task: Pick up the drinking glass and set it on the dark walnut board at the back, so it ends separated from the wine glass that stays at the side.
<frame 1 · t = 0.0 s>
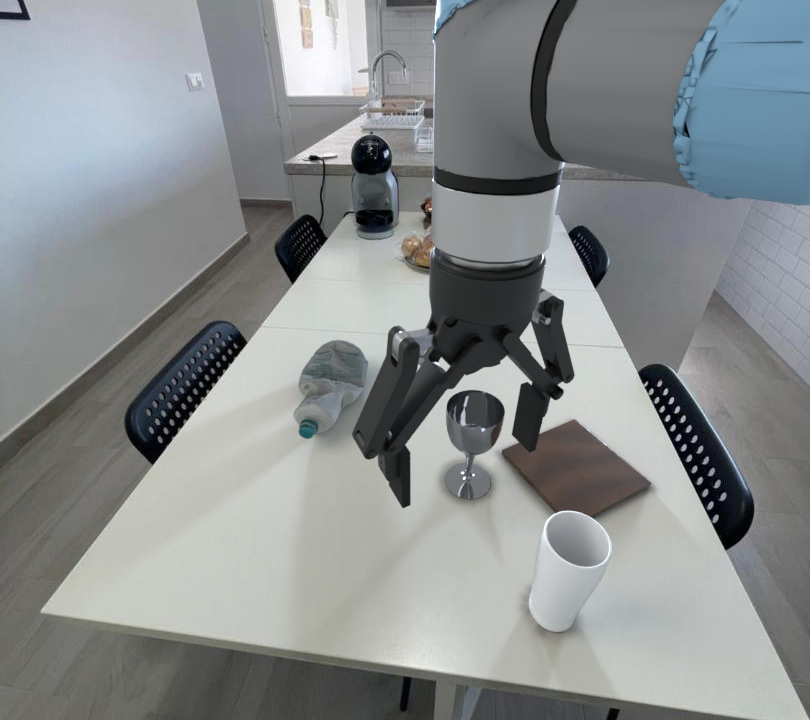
hand: (465, 467, 41), 24 cm above the table, tool pointing down, fingers open, 13 cm apart
crushed plastic bottle: (329, 402, 85), on the table
wine glass: (467, 481, 70), on the table
walnut board: (572, 469, 71), on the table
drinking glass: (550, 611, 54), on the table
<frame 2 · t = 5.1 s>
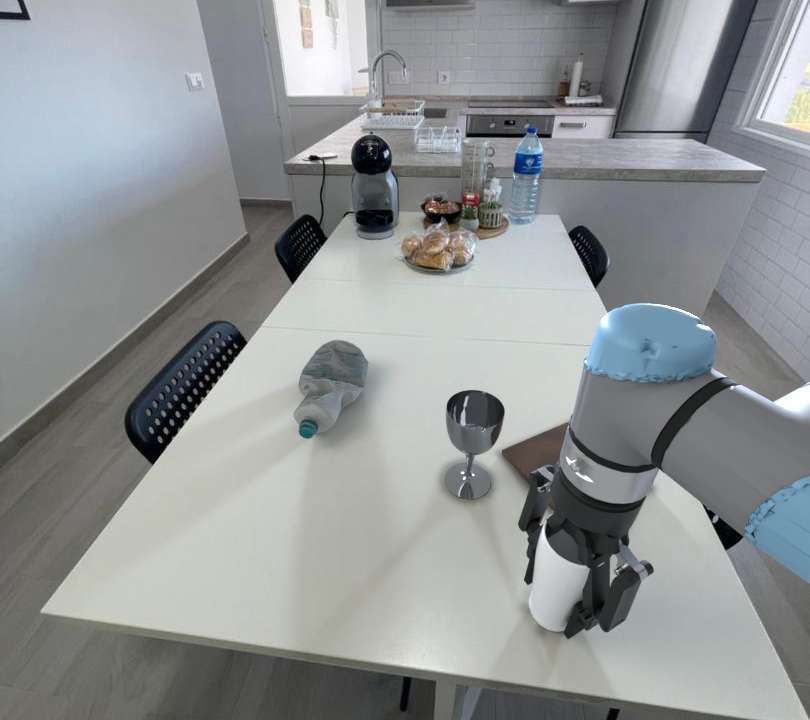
hand: (553, 602, 53), 2 cm above the table, tool pointing down, fingers closed on drinking glass, 6 cm apart
drinking glass: (550, 611, 54), on the table, touching gripper
everything else where it was.
when the fingers open (3 cm above the table, at t = 13.5 s): drinking glass stays where it is, resting on walnut board.
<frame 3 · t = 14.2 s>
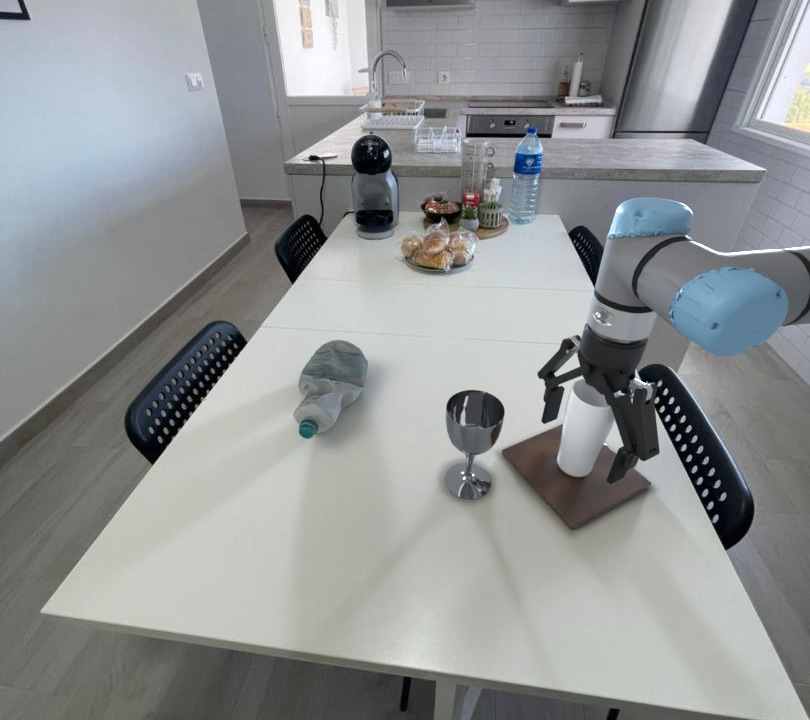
hand: (579, 447, 68), 5 cm above the table, tool pointing down, fingers open, 13 cm apart
drinking glass: (573, 466, 71), point 1 cm above the table, touching walnut board
everything else where it was.
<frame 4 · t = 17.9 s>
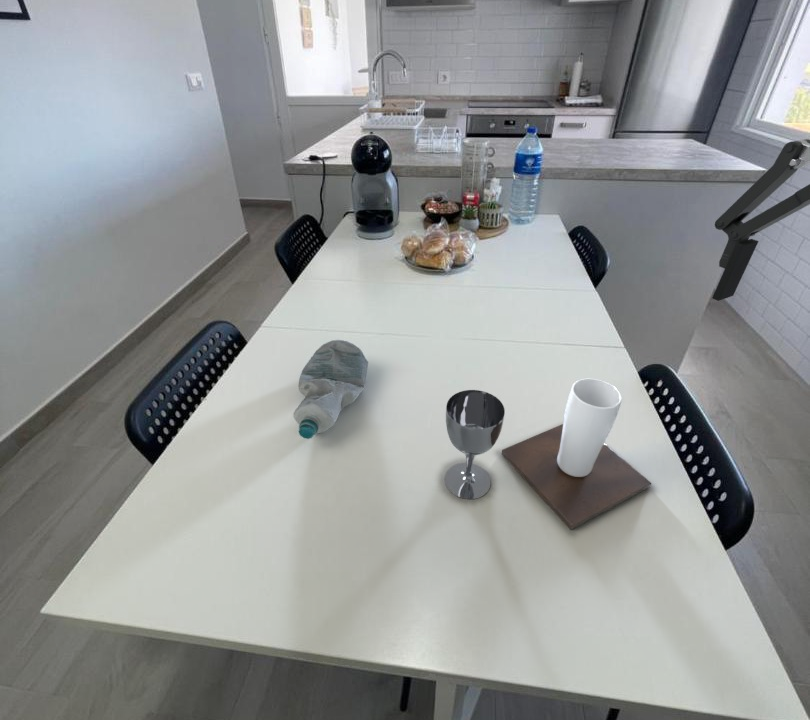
hand: (786, 324, 46), 32 cm above the table, tool pointing down, fingers open, 13 cm apart
nothing on the table moved.
at the end: drinking glass inside the target area on the walnut board (0.0 cm from its centre), point 0.8 cm above the walnut board's base; drinking glass tilted 0°; drinking glass 0.0 cm from the walnut board (horizontally) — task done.
